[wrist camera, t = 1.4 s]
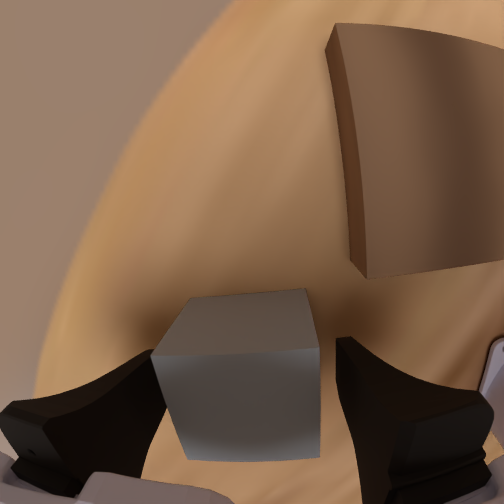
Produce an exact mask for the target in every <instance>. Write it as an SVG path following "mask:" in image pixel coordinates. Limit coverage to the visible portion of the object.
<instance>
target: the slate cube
mask: <svg viewBox="0 0 504 504" xmlns="http://www.w3.org/2000/svg"><path fill="white" fill-rule="evenodd" d="M150 356H151V359H152V363H153V366H154V369H155V372H156V375H157V379H158V382H159V385H160V388H161V391H162V394H163V397H164V399H165V402H166V405H167V408H168V411H169V413H170V416H171V419H172V422H173V424H174V427H175V430H176V432H177V435H178V437H179V440H180V442H181V445H182V447H183V450H184V452H185V454H186V457H187V459H188V460H203V461H227V462H259V461H283V460H298V459H309V458H318V457H320V415H321V399H320V347H319V343H318V338H317V334H316V330H315V326H314V321H313V317H312V313H311V309H310V305H309V301H308V297H307V293H306V289H305V288H303V289H293V290H283V291H272V292H261V293H250V294H238V295H225V296H212V297H198V298H190V299H189V301H188V302H187V304H186V305H185V307H184V308H183V309H182V311H181V312H180V314H179V315H178V317H177V318H176V319H175V321H174V322H173V324H172V325H171V327H170V328H169V329H168V331H167V332H166V334H165V335H164V337H163V338H162V339H161V341H160V342H159V344H158V345H157V347H156V348H155V350H154V351H153V352H152V354H151V355H150Z"/></svg>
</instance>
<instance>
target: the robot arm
mask: <svg viewBox="0 0 504 504" xmlns="http://www.w3.org/2000/svg"><path fill="white" fill-rule="evenodd" d="M154 350H155V349H149V350H146V351H144V352H142V353H141V354H139V355H137V356H136V357H134V358H132V359H131V360H129V361H127V362H126V363H124V364H122V365H121V366H119V367H118V368H116V369H114V370H112V371H111V372H109V373H107V374H105V375H103V376H102V377H100V378H98V379H96V380H94V381H92V382H90V383H88V384H85V385H83V386H80V387H78V388H75V389H72V390H69V391H66V392H63V393H60V394H56V395H52V396H48V397H43V398H37V399H29V400H19V401H12V402H11V403H10V404H9V405H8V406H7V407H6V408H5V409H4V410H3V411H2V412H1V413H0V429H1V431H2V432H3V434H4V436H5V437H6V439H7V440H8V442H9V443H10V445H11V446H12V447H13V449H14V450H15V452H16V453H17V455H18V456H19V458H18V459H17V460H16V461H15V460H14V459H13V458H11V457H10V456H8V455H6V454H4V453H2V452H1V451H0V504H234V503H233V502H232V501H231V500H230V499H229V498H228V497H226V496H224V495H221V494H219V493H217V492H215V491H212V490H209V489H204V488H199V487H194V486H189V485H179V484H171V483H164V482H157V481H151V480H145V479H140V478H141V474H142V470H143V466H144V463H145V459H146V456H147V452H148V449H149V447H150V444H151V442H152V440H153V438H154V435H155V433H156V431H157V429H158V427H159V424H160V422H161V420H162V418H163V416H164V413H165V411H166V409H167V405H166V402H165V399H164V397H163V394H162V391H161V388H160V385H159V382H158V379H157V375H156V372H155V369H154V366H153V363H152V359H151V356H150V355H151V354H152V352H153V351H154ZM336 384H337V390H338V395H339V400H340V403H341V406H342V409H343V412H344V415H345V418H346V421H347V424H348V427H349V430H350V433H351V437H352V440H353V444H354V448H355V453H356V459H357V465H358V472H359V478H360V485H361V494H362V503H363V504H504V455H502V456H500V457H498V458H496V459H495V460H493V461H492V462H491V463H490V464H489V465H488V466H487V465H486V463H485V461H484V460H483V459H485V457H486V453H485V451H484V449H483V448H482V446H483V444H484V442H485V440H486V438H487V436H488V434H489V432H490V431H492V432H493V434H494V435H495V437H496V438H497V440H498V441H499V443H500V444H501V446H502V447H503V449H504V338H501V339H498V340H496V341H495V342H494V343H493V344H492V346H491V349H490V353H489V357H488V361H487V364H486V368H485V372H484V375H483V379H482V382H481V385H480V388H479V391H474V390H463V389H455V388H450V387H445V386H440V385H436V384H433V383H429V382H426V381H424V380H421V379H418V378H415V377H413V376H410V375H408V374H406V373H404V372H402V371H400V370H398V369H396V368H394V367H393V366H391V365H389V364H388V363H386V362H384V361H383V360H381V359H380V358H378V357H377V356H375V355H374V354H373V353H371V352H370V351H369V350H367V349H366V348H365V347H364V346H362V345H361V344H360V343H359V342H357V341H356V340H355V339H354V338H352V337H351V336H349V337H341V338H336Z"/></svg>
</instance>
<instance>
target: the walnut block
mask: <svg viewBox="0 0 504 504" xmlns="http://www.w3.org/2000/svg"><path fill="white" fill-rule="evenodd" d="M325 53H326V58H327V63H328V68H329V73H330V79H331V84H332V90H333V96H334V102H335V108H336V115H337V121H338V128H339V136H340V143H341V151H342V160H343V169H344V178H345V188H346V199H347V212H348V226H349V243H350V260H351V262H352V263H353V264H354V265H355V266H356V267H357V269H358V270H359V271H360V272H361V273H362V274H363V276H364V277H365V278H366V279H376V278H384V277H391V276H399V275H406V274H414V273H421V272H428V271H435V270H442V269H448V268H455V267H462V266H468V265H474V264H480V263H486V262H492V261H498V260H504V49H501V48H498V47H494V46H491V45H488V44H484V43H481V42H477V41H473V40H469V39H465V38H461V37H456V36H452V35H447V34H442V33H436V32H431V31H425V30H418V29H411V28H404V27H395V26H385V25H372V24H353V23H335V25H334V27H333V30H332V33H331V35H330V38H329V41H328V43H327V46H326V48H325Z"/></svg>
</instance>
